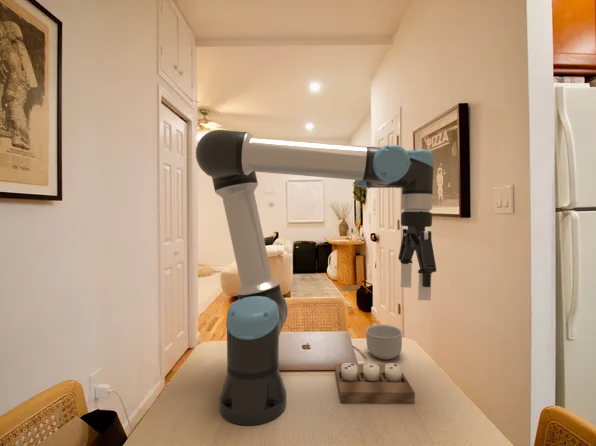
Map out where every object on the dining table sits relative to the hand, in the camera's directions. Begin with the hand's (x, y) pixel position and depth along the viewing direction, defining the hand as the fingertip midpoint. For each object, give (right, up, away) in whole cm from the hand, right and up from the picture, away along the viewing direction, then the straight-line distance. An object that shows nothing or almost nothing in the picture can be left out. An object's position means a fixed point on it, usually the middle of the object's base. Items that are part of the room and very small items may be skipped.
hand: (414, 293), depth 83 cm
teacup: (-4, -23, +17) cm, 29 cm away
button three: (-17, -21, -2) cm, 27 cm away
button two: (-6, -21, -3) cm, 22 cm away
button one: (-12, -21, -2) cm, 24 cm away
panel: (-12, -23, -2) cm, 26 cm away
